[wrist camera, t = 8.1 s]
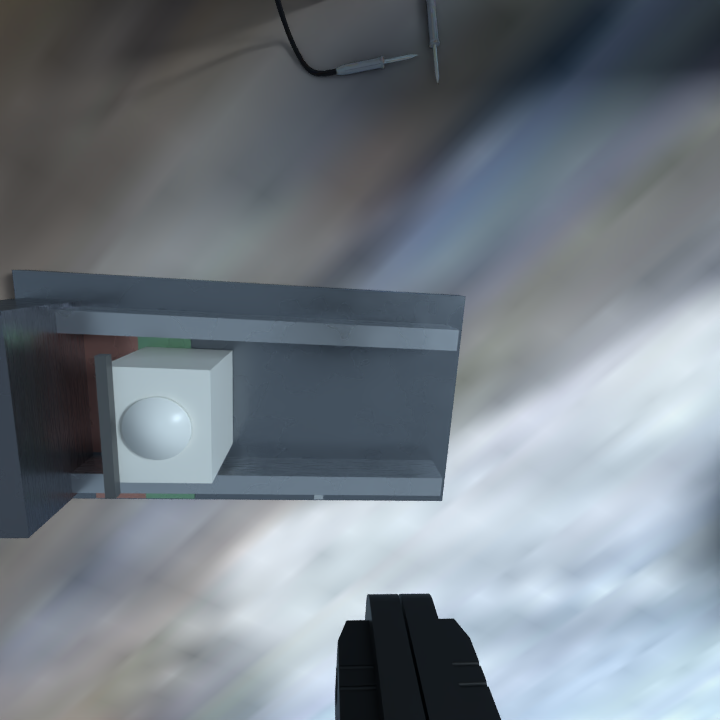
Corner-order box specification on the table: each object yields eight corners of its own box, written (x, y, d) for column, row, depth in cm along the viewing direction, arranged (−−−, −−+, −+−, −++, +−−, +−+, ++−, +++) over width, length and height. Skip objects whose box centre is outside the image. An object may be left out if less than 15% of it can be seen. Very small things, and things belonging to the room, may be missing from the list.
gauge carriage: (232, 340, 24) (207, 360, 19) (232, 452, 26) (209, 499, 21) (145, 336, 24) (94, 356, 19) (150, 450, 25) (105, 498, 20)
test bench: (459, 295, 26) (508, 304, 19) (437, 491, 29) (473, 561, 22) (27, 269, 24) (-96, 269, 17) (50, 488, 27) (-46, 565, 20)
